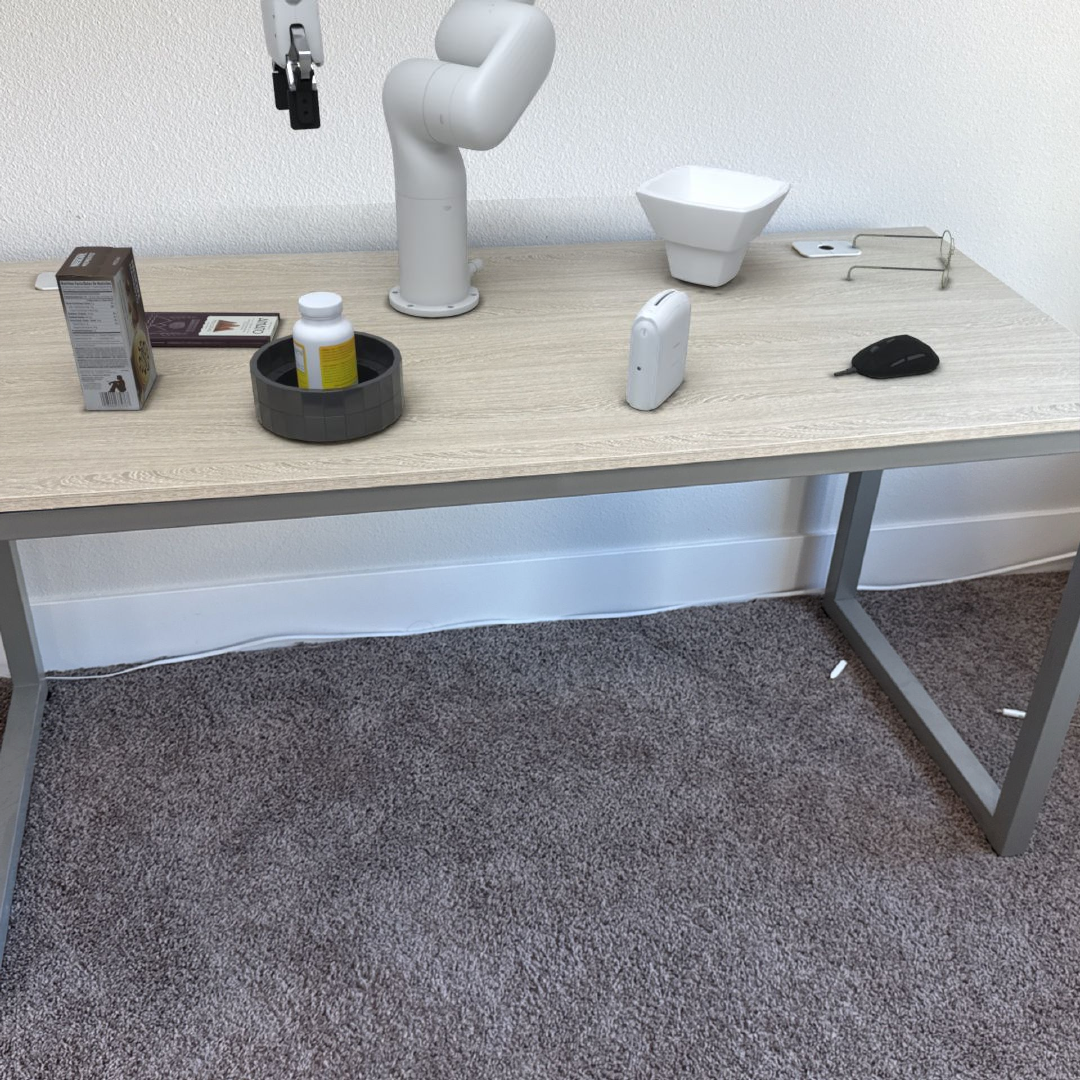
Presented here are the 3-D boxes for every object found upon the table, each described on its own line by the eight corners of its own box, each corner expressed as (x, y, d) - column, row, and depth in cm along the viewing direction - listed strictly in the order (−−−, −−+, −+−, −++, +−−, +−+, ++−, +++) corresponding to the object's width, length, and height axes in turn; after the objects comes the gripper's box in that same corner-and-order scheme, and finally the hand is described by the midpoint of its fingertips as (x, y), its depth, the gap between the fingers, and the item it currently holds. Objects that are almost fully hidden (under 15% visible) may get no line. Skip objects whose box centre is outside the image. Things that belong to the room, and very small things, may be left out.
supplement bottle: (370, 399, 126) (362, 293, 119) (343, 424, 121) (333, 314, 114) (318, 389, 128) (308, 284, 121) (289, 413, 123) (277, 305, 116)
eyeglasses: (949, 292, 161) (957, 259, 158) (846, 280, 164) (852, 247, 162) (947, 257, 174) (954, 226, 171) (851, 247, 177) (857, 216, 175)
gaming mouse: (820, 365, 138) (825, 336, 136) (917, 351, 143) (924, 322, 141) (848, 386, 134) (854, 356, 131) (948, 371, 138) (955, 341, 136)
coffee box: (103, 377, 131) (75, 245, 122) (158, 376, 131) (134, 244, 122) (83, 411, 123) (51, 273, 114) (142, 410, 124) (115, 273, 115)
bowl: (787, 274, 166) (801, 181, 158) (735, 313, 152) (748, 214, 144) (677, 250, 174) (685, 160, 166) (618, 285, 160) (624, 190, 153)
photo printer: (654, 415, 126) (663, 313, 119) (620, 406, 128) (628, 305, 121) (688, 382, 133) (699, 285, 127) (656, 374, 135) (665, 278, 128)
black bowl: (323, 368, 134) (318, 318, 131) (432, 402, 127) (430, 350, 124) (225, 420, 122) (217, 367, 119) (340, 461, 115) (335, 405, 112)
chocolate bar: (142, 311, 145) (279, 312, 146) (144, 318, 145) (280, 319, 146) (124, 339, 137) (268, 339, 138) (125, 346, 138) (269, 346, 139)
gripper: (334, -45, 108) (347, 134, 117) (302, -62, 121) (315, 100, 131) (257, -44, 105) (276, 139, 115) (233, -62, 119) (252, 104, 128)
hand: (297, 118), depth 123 cm, fingers open, 9 cm apart
